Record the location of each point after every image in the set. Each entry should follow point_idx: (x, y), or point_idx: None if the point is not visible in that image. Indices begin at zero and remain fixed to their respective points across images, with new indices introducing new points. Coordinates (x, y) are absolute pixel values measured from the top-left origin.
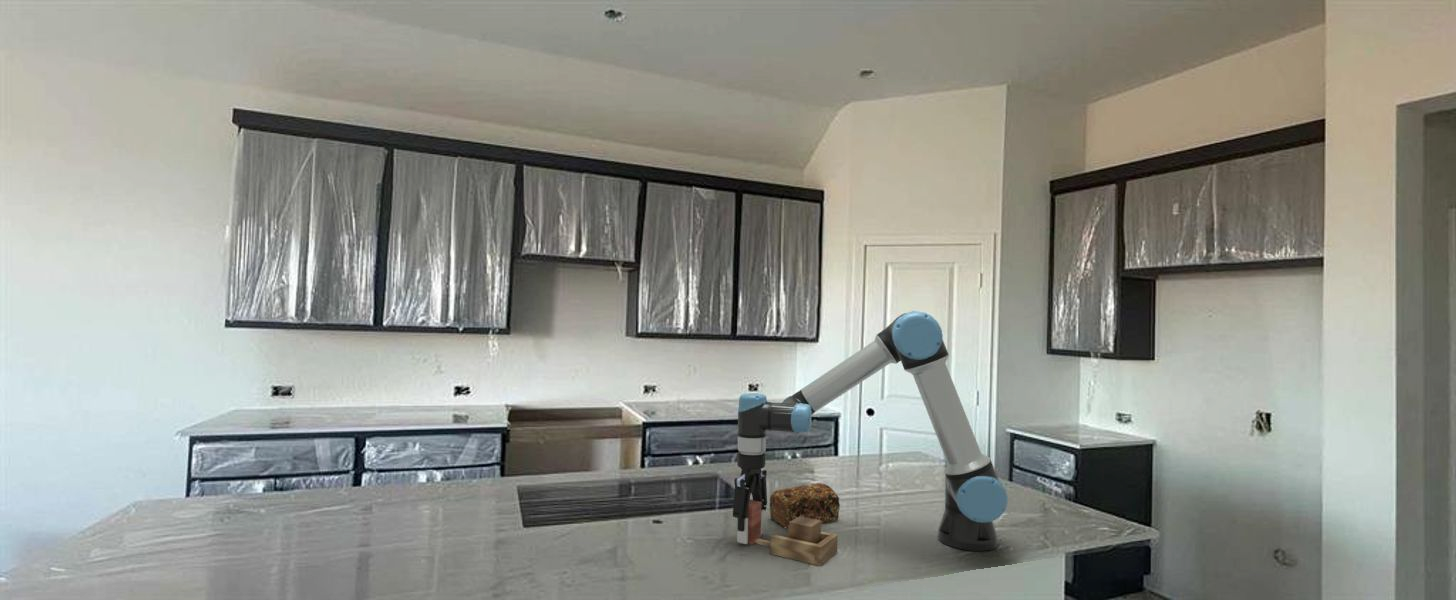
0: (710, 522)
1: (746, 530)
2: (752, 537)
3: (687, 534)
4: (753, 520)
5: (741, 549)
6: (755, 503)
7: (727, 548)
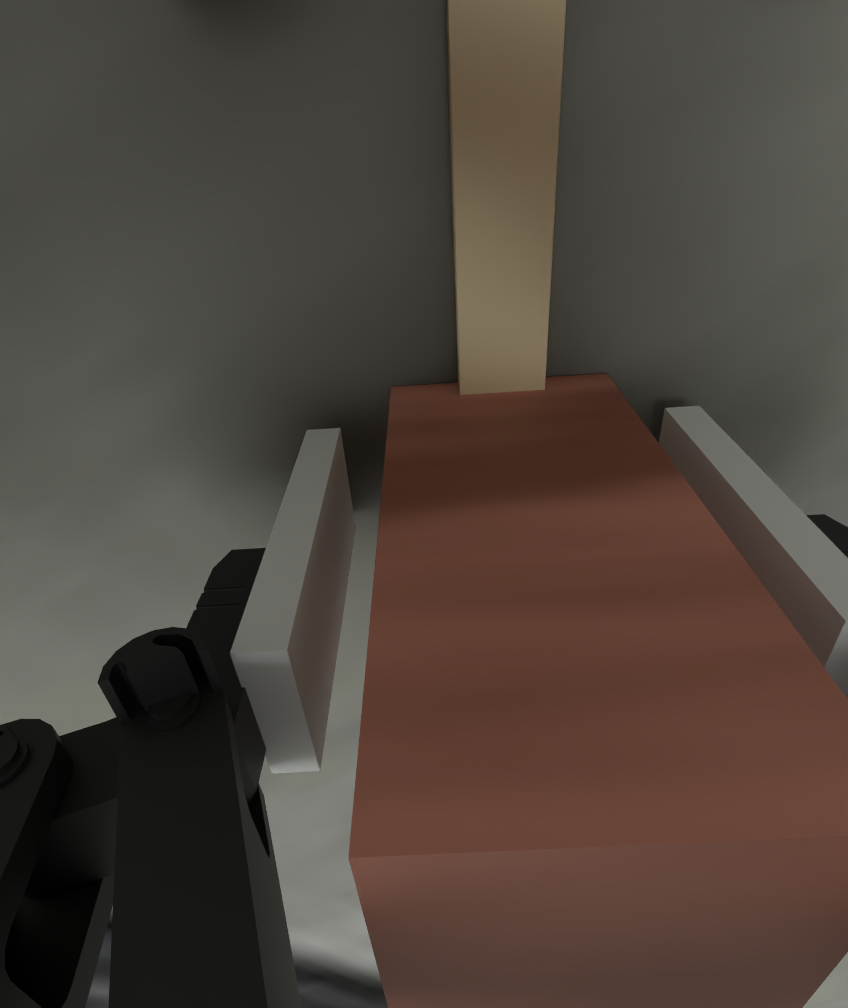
0: (329, 833)
1: (780, 492)
2: (620, 408)
3: None
4: (688, 543)
5: (799, 386)
6: (604, 882)
7: (818, 505)
